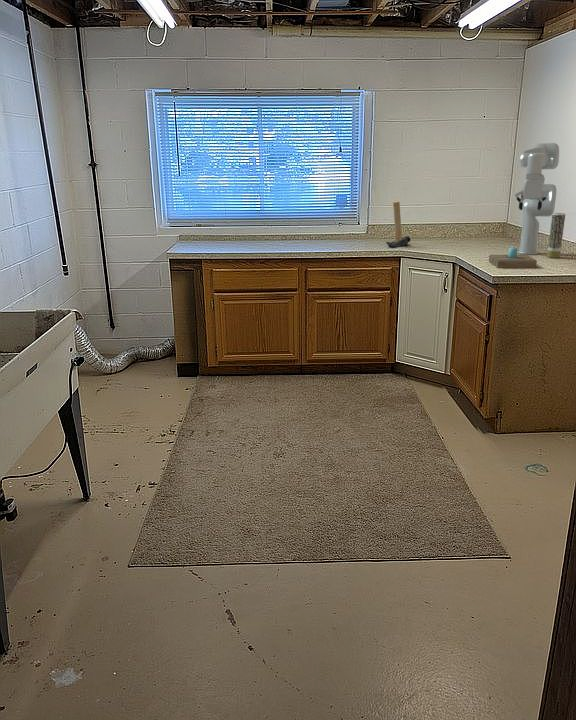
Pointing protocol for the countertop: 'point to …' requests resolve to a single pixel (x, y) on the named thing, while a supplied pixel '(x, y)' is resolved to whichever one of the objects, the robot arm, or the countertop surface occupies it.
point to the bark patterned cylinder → (556, 235)
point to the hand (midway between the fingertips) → (529, 209)
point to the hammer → (398, 228)
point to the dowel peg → (512, 253)
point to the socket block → (512, 261)
